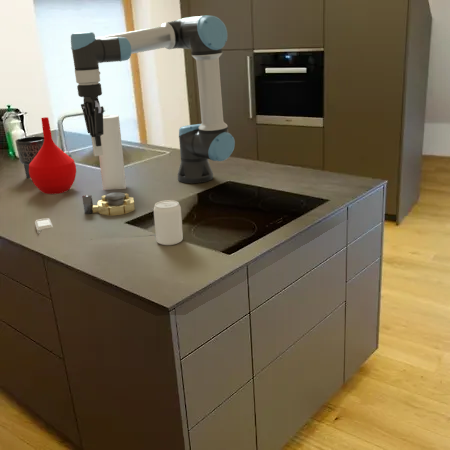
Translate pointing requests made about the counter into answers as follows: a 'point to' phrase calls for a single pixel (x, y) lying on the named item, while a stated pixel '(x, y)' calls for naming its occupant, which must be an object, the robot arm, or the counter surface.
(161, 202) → the beverage can
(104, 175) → the cylinder container
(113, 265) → the counter surface
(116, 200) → the grey flat cylinder
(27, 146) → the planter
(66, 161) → the vase
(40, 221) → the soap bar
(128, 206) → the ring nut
